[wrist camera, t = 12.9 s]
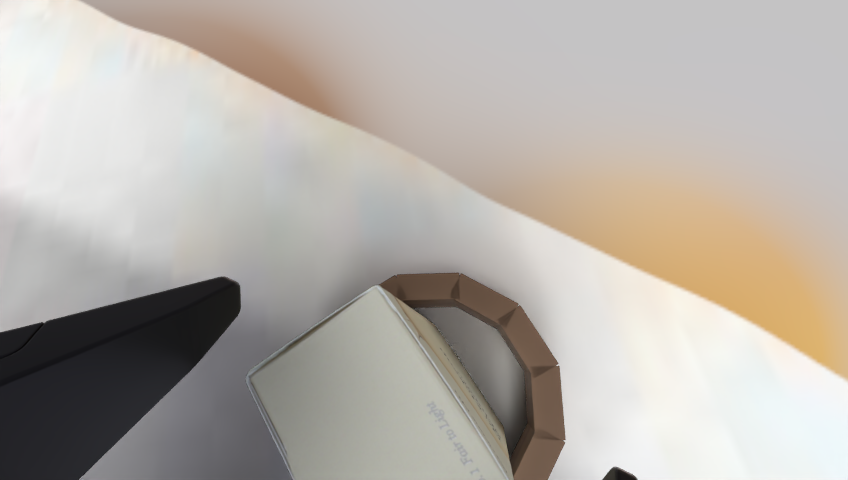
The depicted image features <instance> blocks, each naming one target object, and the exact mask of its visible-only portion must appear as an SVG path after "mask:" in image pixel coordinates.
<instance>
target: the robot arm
mask: <svg viewBox="0 0 848 480" xmlns="http://www.w3.org/2000/svg"><path fill="white" fill-rule="evenodd" d="M240 308H241V297H240V285H239V283H238V282H236V281H234V280H232V279H230V278H228V277H218V278H214V279H210V280H206V281H202V282H198V283H194V284H190V285H186V286H182V287H178V288H174V289H170V290H167V291H163V292H159V293H155V294H151V295H147V296H143V297H139V298H135V299H131V300H127V301H123V302H119V303H116V304H112V305H108V306H104V307H100V308H96V309H92V310H88V311H84V312H80V313H76V314H72V315H68V316H64V317H61V318H57V319H53V320H49V321H46V322H45V323H44V322H41V323H37V324H33V325H29V326H25V327H21V328H17V329H13V330H8V331H4V332H0V480H79V479H80V478H81V477H82V476H83V475H84V474H85V473H86V472H87V471H88V470H89V469H90V468H91V467H92V466H93V465H94V464H95V463H96V462H97V461H98V460H99V459H100V458H101V457H102V456H103V455H104V454H105V453H106V452H107V451H108V450H109V449H111V448H112V447H113V446H114V445H115V444H116V443H117V442H118V441H119V440H120V439H121V438H122V437H123V436H124V435H125V434H126V433H127V432H128V431H129V430H130V429H131V428H132V427H133V426H134V425H135V424H136V423H137V422H138V421H139V420H140V419H141V418H142V417H143V416H144V415H145V414H146V413H148V412H149V411H150V410H151V409H152V408H153V407H154V406H155V405H156V404H157V403H158V402H159V401H160V400H161V399H162V398H163V397H164V396H165V395H166V394H167V393H168V392H169V391H170V390H171V389H172V388H173V387H174V386H175V385H176V384H177V383H178V382H179V381H180V380H181V379H182V378H183V377H184V376H186V375H187V374H188V373H189V372H190V371H191V370H192V368H193V367H194V366H195V365H196V364H197V363H198V362H199V361H200V360H201V359H202V358H203V356H204V355H205V354H206V353H207V352H208V350H209V349H210V348H211V347H212V346H213V345H214V343H215V342H216V341H217V340H218V339H219V337H220V336H221V335H222V334H223V333H224V332H225V330H226V329H227V328H228V327H229V326H230V324H231V323H232V322H233V321H234V320H235V318H236V317H237V316H238V314H239V312H240ZM602 480H638V479H637V478H636V477H635V476H634V475H633V474H631V473H629V472H627V471H625V470H623V469H621V468H619V467H613V468H612V469H611V470H610V471H609V472H608V473H607V475H606V476H605V477H604V478H603V479H602Z"/></svg>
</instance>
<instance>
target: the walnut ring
mask: <svg viewBox="0 0 848 480" xmlns="http://www.w3.org/2000/svg"><path fill="white" fill-rule="evenodd" d="M380 286H381V287H382V288H384V289H385V290H387V291H388V292H389V293H391V294H392V295H393V296H395V297H396V298H398V299H399V300H401V301H402V302H403V303H405V304H406V305H408V306H409V307H410V308H428V307H458V308H460V309H462V310H463V311H465V312H467V313H469V314H471V315H472V316H474V317H476V318H478V319H480V320H481V321H483V322H485V323H487V324H489V325H491V326H492V327H494V328H496V329H498V331H499V332H500V334H501V335H502V337H503V339H504V340H505V342H506V343H507V345H508V347H509V348H510V350H511V351H512V353H513V354H514V356H515V358H516V359H517V361H518V362H519V364H520V366H521V367H522V369H523V370H524V377H525V393H526V409H527V425H526V427H525V429H524V431H523V433H522V435H521V437H520V439H519V441H518V443H517V445H516V447H515V449H514V451H513V454H512V456H511V458H510V464H511V469H512V474H513V478H514V480H548V478H549V476H550V474H551V471H552V469H553V467H554V465H555V463H556V461H557V459H558V457H559V454H560V452H561V450H562V448H563V446H564V444H565V442H564V441H563V440H565V428H564V416H563V404H562V392H561V380H560V368H559V366H556V365H557V364H558V362H557V361H556V359H555V358H554V356H553V355H552V353H551V352H550V350H549V349H548V347H547V345H546V344H545V342H544V341H543V339H542V338H541V336H540V335H539V333H538V332H537V330H536V329H535V327H534V326H533V324H532V323H531V321H530V320H529V318H528V317H527V315H526V313H525V312H524V310H523V309H522V307H521V306H518V303H516V302H514V301H512V300H510V299H508V298H507V297H505V296H503V295H501V294H499V293H497V292H495V291H493V290H492V289H490V288H488V287H486V286H484V285H482V284H480V283H478V282H476V281H475V280H473V279H471V278H469V277H467V276H465V275H463V274H460V275H459V273H436V274H400V275H397V277H396V276H393V277H391V278H390V279H388V280H386V281H385V282H383V283H381V284H380ZM517 306H518V307H517Z"/></svg>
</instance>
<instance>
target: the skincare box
mask: <svg viewBox="0 0 848 480" xmlns="http://www.w3.org/2000/svg"><path fill="white" fill-rule="evenodd" d="M246 384H247V386H248V388H249V390H250V393H251V395H252V397H253V399H254V401H255V403H256V405H257V407H258V409H259V411H260V413H261V415H262V418H263V420H264V422H265V424H266V426H267V427H268V429H269V431H270V434H271V436H272V438H273V440H274V442H275V444H276V446H277V448H278V450H279V452H280V454H281V456H282V458H283V460H284V462H285V464H286V467H287V469H288V471H289V473H290V475H291V477H292V479H293V480H514V478H513V474H512V469H511V464H510V460H509V454H508V449H507V444H506V438H505V433H504V427H503V425H502V424H501V422H500V421H499V419H498V418H497V416H496V415H495V413H494V412H493V410H492V409H491V407H490V406H489V404H488V403H487V401H486V399H485V398H484V396H483V395H482V393H481V392H480V390H479V389H478V387H477V386H476V384H475V383H474V381H473V380H472V378H471V377H470V375H469V374H468V372H467V371H466V369H465V368H464V367H463V365H462V364H461V362H460V361H459V359H458V358H457V356H456V355H455V353H454V352H453V351H452V349H451V348H450V346H449V345H448V343H447V342H446V341H445V339H444V338H443V336H442V335H441V333H440V332H439V330H438V329H437V327H436V326H435V325H434V324H433V323H431V322H430V321H429V320H427V319H426V318H425V317H423V316H422V315H420V314H419V313H418V312H416V311H415V310H413V309H412V308H410V307H409V306H408V305H406V304H405V303H403V302H402V301H401V300H399V299H398V298H396V297H395V296H393V295H392V294H391V293H389V292H388V291H387V290H385V289H384V288H382V287H381V286H380V285H375V286H372V287H371V288H369V289H367V290H366V291H364V292H363V293H362V294H360V295H359V296H357V297H356V298H354V299H353V300H351V301H350V302H348V303H346V304H345V305H343V306H342V307H340V308H339V309H337V310H336V311H334V312H333V313H331V314H330V315H328V316H327V317H325V318H324V319H322V320H321V321H320V322H318V323H317V324H315V325H314V326H312V327H311V328H309V329H308V330H306V331H305V332H304V333H302V334H300V335H299V336H297V337H296V338H294V339H293V340H291V341H290V342H288V343H287V344H286V345H284V346H283V347H281V348H280V349H279V350H277V351H276V352H274V353H273V354H272V355H270V356H269V357H267V358H266V359H264V360H263V361H262V362H260V363H259V364H257V365H256V366H255V367H253V368H252V369H250V370H249V371H248V373H247V375H246Z"/></svg>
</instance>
